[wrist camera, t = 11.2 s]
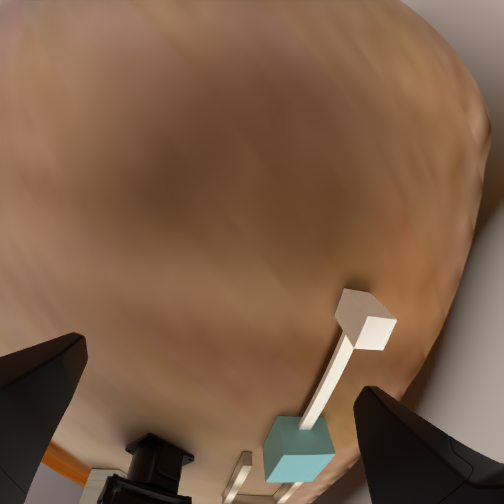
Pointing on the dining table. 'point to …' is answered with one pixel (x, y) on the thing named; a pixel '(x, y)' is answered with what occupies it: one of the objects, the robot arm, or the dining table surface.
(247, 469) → the beige u-shaped frame
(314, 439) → the teal and white dumbbell
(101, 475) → the supplement box
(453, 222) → the dining table surface
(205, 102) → the dining table surface
